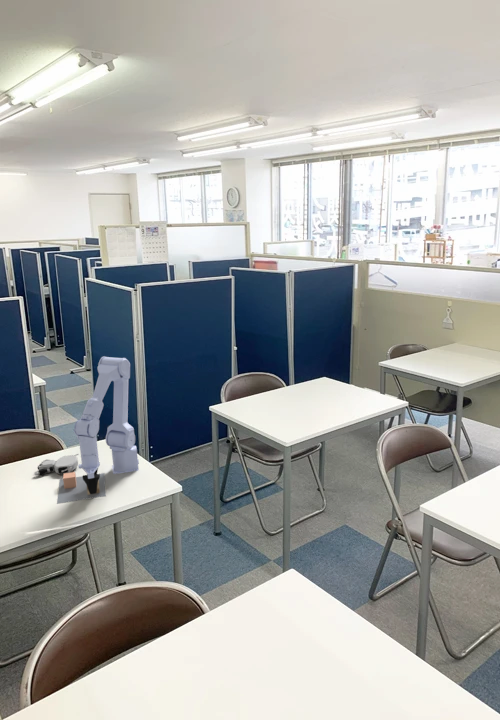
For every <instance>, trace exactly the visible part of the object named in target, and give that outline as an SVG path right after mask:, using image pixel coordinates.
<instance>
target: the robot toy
mask: <svg viewBox="0 0 500 720" xmlns="http://www.w3.org/2000/svg"><path fill="white" fill-rule="evenodd" d="M79 455H80V454H79V453H76V454H71V455H64V456H61V457H59V458H58V459H57V460H54V459H45V460H43V461H41V463H39V465H37V470H38V471H35V472H34V475H35V476H38V475H39V476H42V475H45V474H47V473H54V472H55V473H56V474H59V475H60V474H63V475H64V474H65V473H72V472H74V470H75V469H76V468H77V467H78V466H79V460H78V457H77V456H79Z"/></svg>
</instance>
